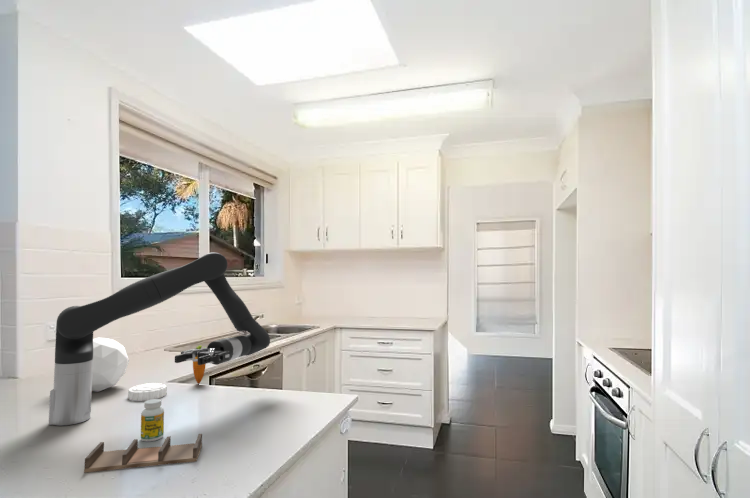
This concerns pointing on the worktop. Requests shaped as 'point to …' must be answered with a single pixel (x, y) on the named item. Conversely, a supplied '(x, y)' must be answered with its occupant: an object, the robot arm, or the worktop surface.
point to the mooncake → (147, 391)
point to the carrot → (198, 369)
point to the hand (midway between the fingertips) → (187, 360)
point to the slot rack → (142, 455)
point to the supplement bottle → (152, 421)
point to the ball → (107, 363)
